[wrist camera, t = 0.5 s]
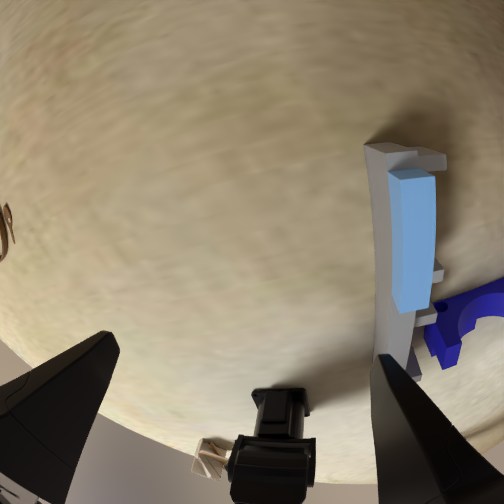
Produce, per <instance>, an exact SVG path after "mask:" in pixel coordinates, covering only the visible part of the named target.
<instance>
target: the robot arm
mask: <svg viewBox="0 0 504 504" xmlns="http://www.w3.org/2000/svg"><path fill="white" fill-rule="evenodd" d="M119 354H120V348H119V346H118V343H117V341H116V339H115V337H114V335H113V333H112V332H109V331H104V330H103V331H100V332H98V333H97V334H95V335H93V336H91V337H89V338H88V339H86V340H84V341H82V342H80V343H79V344H77V345H75V346H73V347H72V348H70V349H68V350H66V351H64V352H63V353H61V354H59V355H57V356H55V357H54V358H52V359H50V360H48V361H47V362H45V363H43V364H41V365H39V366H38V367H36V368H34V369H33V370H31V371H29V372H27V373H25V374H23V375H22V376H20V377H18V378H16V379H14V380H12V381H10V382H8V383H6V384H4V385H2V386H0V504H42V503H41V502H39V501H38V499H39V497H40V498H42V499H43V500H45V501H47V502H49V503H51V504H65V501H66V497H67V494H68V491H69V488H70V485H71V482H72V479H73V476H74V472H75V470H76V467H77V464H78V461H79V458H80V455H81V453H82V450H83V448H84V445H85V442H86V440H87V437H88V434H89V431H90V429H91V427H92V424H93V422H94V420H95V417H96V415H97V412H98V410H99V408H100V405H101V403H102V400H103V398H104V396H105V394H106V391H107V389H108V386H109V383H110V381H111V378H112V374H113V371H114V368H115V366H116V363H117V360H118V357H119ZM370 391H371V420H372V429H373V437H374V446H375V456H376V467H377V480H378V497H379V504H504V475H503V474H501V473H500V472H499V471H498V470H497V469H496V468H494V466H492V465H491V464H490V463H489V462H488V461H487V460H486V459H485V458H484V457H483V456H482V455H481V454H480V453H479V452H478V451H477V450H476V449H475V448H474V447H473V446H472V445H471V444H470V443H469V442H468V441H467V440H466V439H465V438H464V437H463V436H462V435H461V434H460V432H459V431H458V430H457V429H456V428H455V426H454V425H452V423H451V422H450V421H449V420H448V418H447V417H446V416H445V415H444V414H443V413H442V412H441V410H440V409H439V408H438V407H437V406H436V405H435V403H434V402H433V401H432V400H431V399H430V398H429V397H428V396H427V394H426V393H425V392H424V391H423V390H422V389H421V388H420V387H419V385H418V384H417V383H416V382H415V381H414V380H413V379H412V378H411V376H410V375H409V374H408V373H407V372H406V371H405V370H404V369H403V368H402V367H401V365H400V364H399V363H398V362H397V361H396V360H395V359H394V358H393V357H392V356H391V355H390V354H388V353H386V354H378V355H377V356H376V357H375V360H374V363H373V366H372V368H371V372H370ZM251 396H252V398H253V400H254V402H255V404H256V406H257V409H258V414H257V420H256V425H255V431H254V436H244V435H240V434H239V436H238V439H237V440H235V444H234V447H233V450H232V453H231V456H230V457H229V459H228V461H227V463H226V465H225V469H226V471H227V472H228V480H229V482H232V483H231V489H230V495H231V498H232V500H233V502H234V503H235V504H302V503H303V501H304V500H305V498H306V491H307V487H313V485H314V479H315V467H316V438H311V439H303V431H304V417H308V416H310V410H309V405H308V400H307V395H306V390H305V389H303V388H300V389H285V390H262V391H252V394H251Z"/></svg>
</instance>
